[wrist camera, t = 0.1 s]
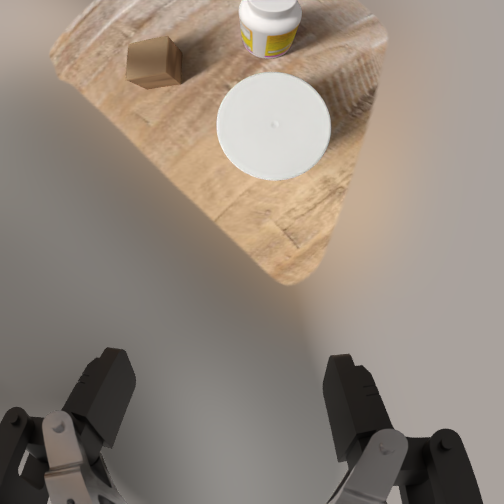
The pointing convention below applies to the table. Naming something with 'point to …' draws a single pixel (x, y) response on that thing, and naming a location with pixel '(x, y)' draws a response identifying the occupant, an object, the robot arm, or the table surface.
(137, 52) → the walnut block
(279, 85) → the supplement tub
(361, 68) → the table surface
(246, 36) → the supplement bottle
